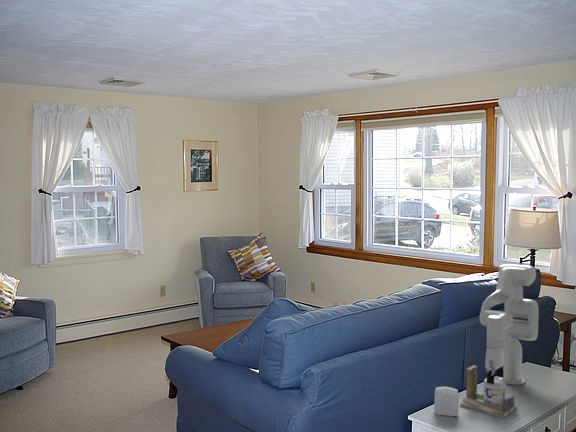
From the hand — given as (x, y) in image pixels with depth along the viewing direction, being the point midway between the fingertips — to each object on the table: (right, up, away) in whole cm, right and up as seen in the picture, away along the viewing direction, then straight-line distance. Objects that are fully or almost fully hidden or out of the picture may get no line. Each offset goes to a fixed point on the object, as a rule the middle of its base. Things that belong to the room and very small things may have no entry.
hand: (495, 379), depth 274 cm
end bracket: (-8, -11, +8) cm, 16 cm away
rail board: (-2, -13, +2) cm, 13 cm away
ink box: (0, -12, 0) cm, 12 cm away
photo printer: (-23, -14, -5) cm, 28 cm away
